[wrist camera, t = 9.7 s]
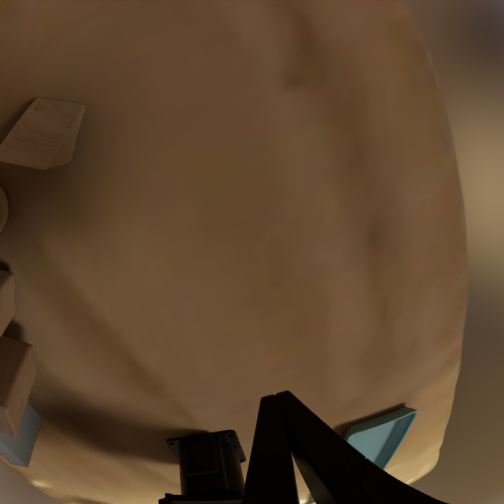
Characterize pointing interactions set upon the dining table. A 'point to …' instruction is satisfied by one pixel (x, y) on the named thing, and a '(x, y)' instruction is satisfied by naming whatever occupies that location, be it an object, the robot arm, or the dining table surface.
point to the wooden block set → (3, 287)
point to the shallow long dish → (381, 435)
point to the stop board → (21, 439)
